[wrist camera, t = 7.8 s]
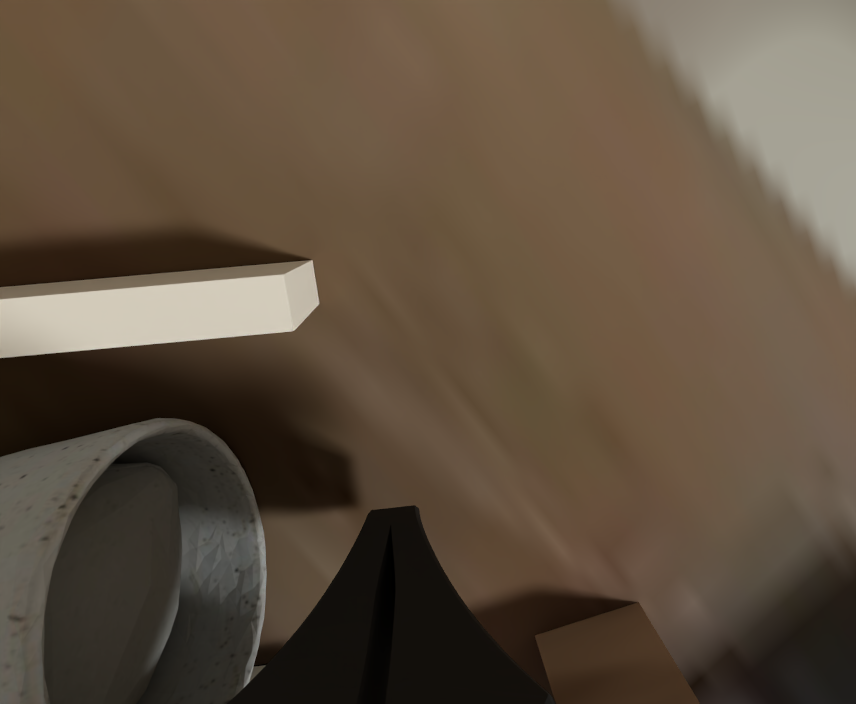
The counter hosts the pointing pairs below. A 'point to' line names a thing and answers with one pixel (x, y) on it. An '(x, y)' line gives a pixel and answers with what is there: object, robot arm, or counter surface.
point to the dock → (156, 310)
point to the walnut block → (612, 662)
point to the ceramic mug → (129, 569)
